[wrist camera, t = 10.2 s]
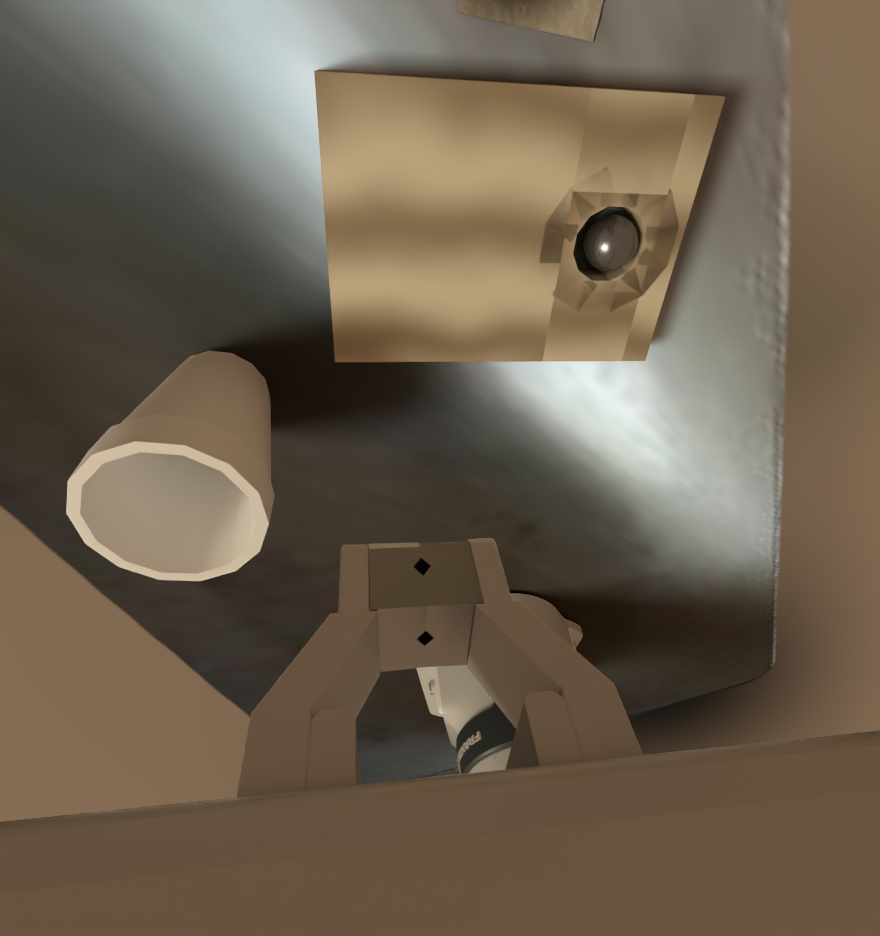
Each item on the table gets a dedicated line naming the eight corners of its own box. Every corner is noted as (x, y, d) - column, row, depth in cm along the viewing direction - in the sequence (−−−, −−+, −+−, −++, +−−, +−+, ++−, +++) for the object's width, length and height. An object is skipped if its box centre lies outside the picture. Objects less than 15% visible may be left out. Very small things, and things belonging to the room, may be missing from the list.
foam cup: (157, 441, 39) (85, 577, 29) (139, 320, 34) (42, 433, 24) (291, 452, 41) (269, 583, 31) (294, 338, 36) (268, 451, 25)
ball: (573, 256, 35) (620, 264, 35) (581, 275, 33) (632, 283, 33) (588, 204, 33) (639, 212, 33) (599, 219, 30) (653, 228, 31)
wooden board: (630, 345, 39) (645, 360, 37) (336, 345, 36) (335, 362, 34) (701, 94, 30) (725, 96, 28) (317, 70, 27) (314, 71, 25)
